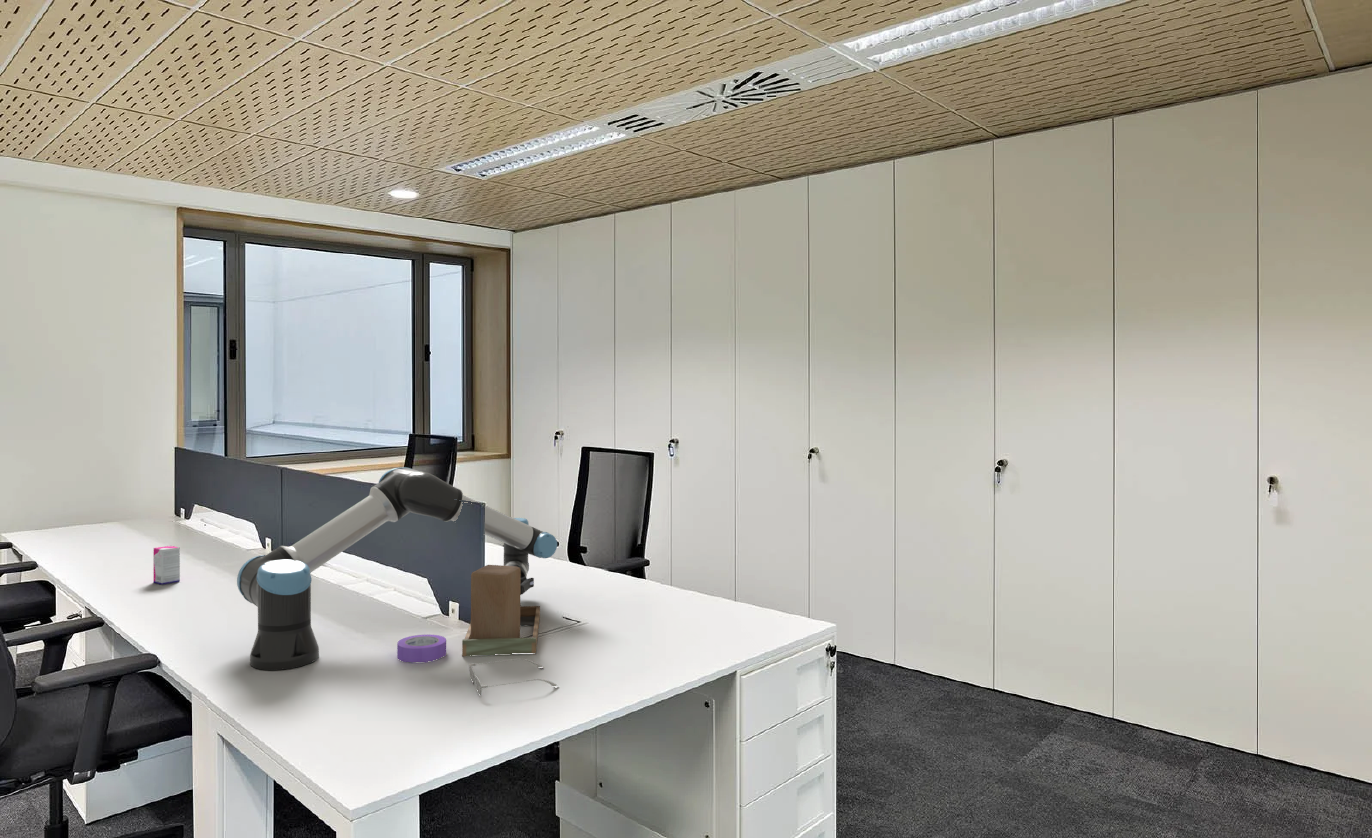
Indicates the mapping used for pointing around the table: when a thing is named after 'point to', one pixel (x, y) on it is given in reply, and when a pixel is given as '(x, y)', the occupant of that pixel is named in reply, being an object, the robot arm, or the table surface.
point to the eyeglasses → (479, 686)
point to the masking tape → (421, 648)
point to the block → (495, 602)
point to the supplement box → (166, 565)
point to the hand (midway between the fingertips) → (507, 597)
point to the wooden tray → (506, 645)
